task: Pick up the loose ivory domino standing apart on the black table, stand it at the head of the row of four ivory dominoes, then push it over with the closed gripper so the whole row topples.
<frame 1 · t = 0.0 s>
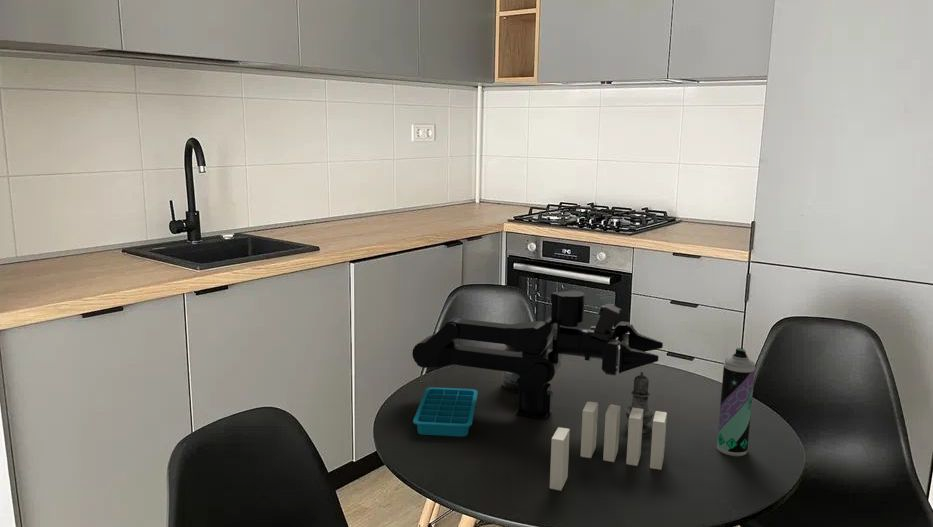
hand: (660, 351, 143), 17 cm above the table, tool horizontal, fingers open, 9 cm apart
ice cube tray: (447, 419, 151), on the table
domino 4: (633, 459, 133), on the table
domino 1: (558, 482, 124), on the table
domino 5: (656, 463, 132), on the table
supplement container: (524, 387, 169), on the table
domino 3: (610, 455, 134), on the table
chess piece: (638, 428, 147), on the table
spray can: (731, 450, 137), on the table
domino 2: (588, 451, 136), on the table
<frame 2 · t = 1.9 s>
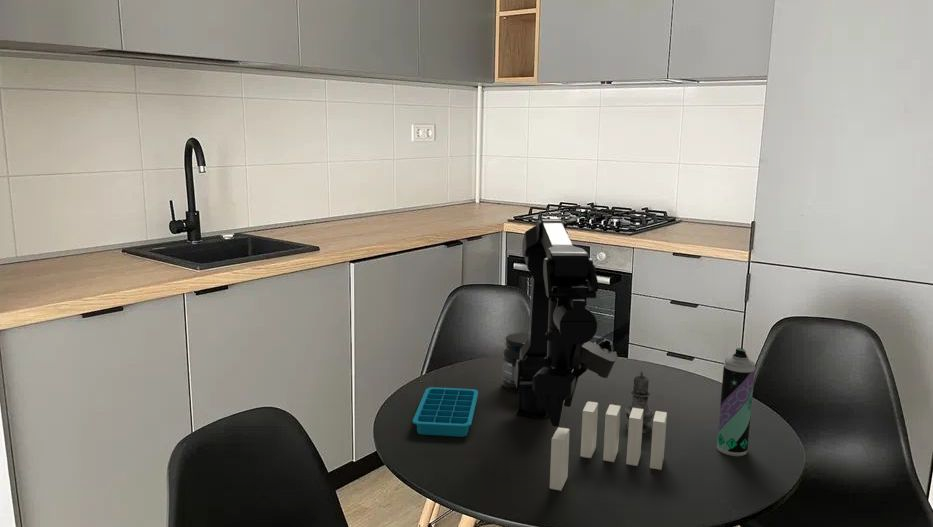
hand: (561, 415, 121), 12 cm above the table, tool pointing down, fingers open, 9 cm apart
nothing on the table moved.
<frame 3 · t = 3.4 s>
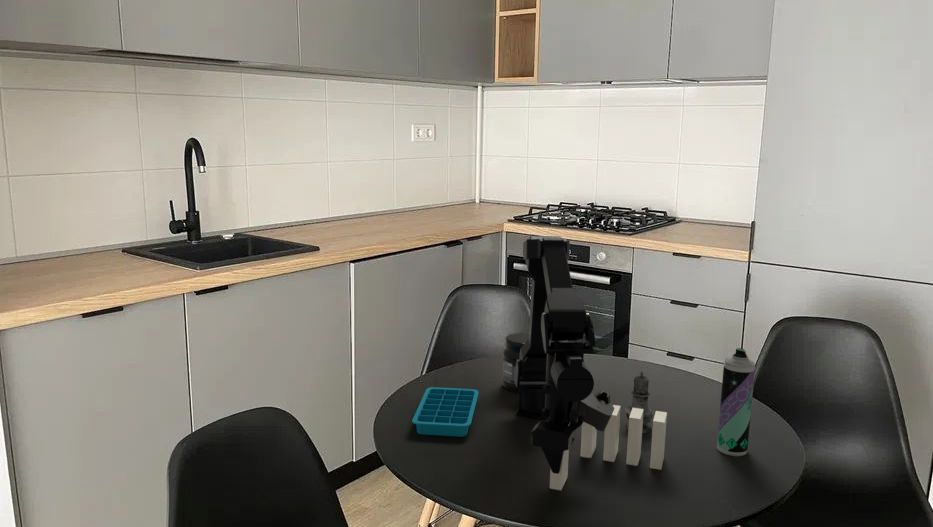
hand: (559, 466, 123), 3 cm above the table, tool pointing down, fingers closed on domino 1, 5 cm apart
domino 1: (558, 482, 124), on the table, touching gripper
everything else where it was.
when the fingers open (4 cm above the table, at t = 7.3 s): domino 1 drops 1 cm, on the table.
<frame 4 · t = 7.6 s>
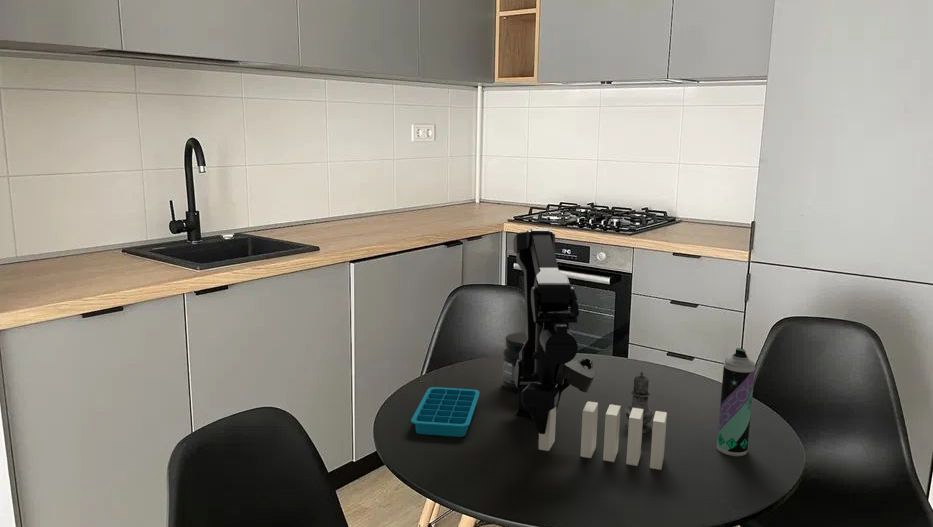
hand: (547, 425, 138), 4 cm above the table, tool pointing down, fingers open, 8 cm apart
domino 1: (546, 444, 138), on the table
everything else where it was.
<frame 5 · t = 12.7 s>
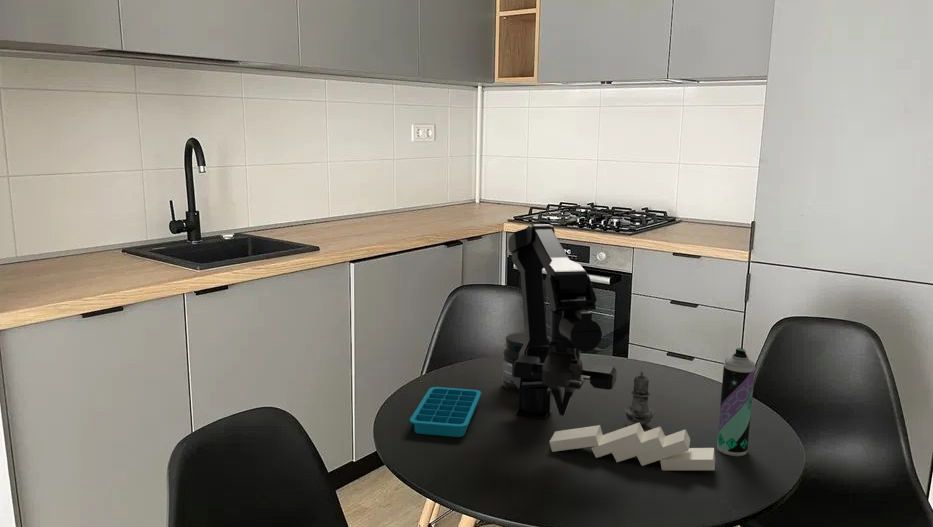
hand: (562, 414, 136), 7 cm above the table, tool pointing down, fingers closed
domino 4: (640, 455, 132), point 1 cm above the table, tilted 61°, touching domino 5
domino 1: (553, 441, 138), point 1 cm above the table, tilted 72°
domino 5: (662, 459, 131), point 1 cm above the table, tilted 79°, touching domino 4
domino 3: (616, 451, 134), point 1 cm above the table, tilted 61°, touching domino 2
domino 2: (596, 447, 135), point 1 cm above the table, tilted 61°, touching domino 3
everything else where it was.
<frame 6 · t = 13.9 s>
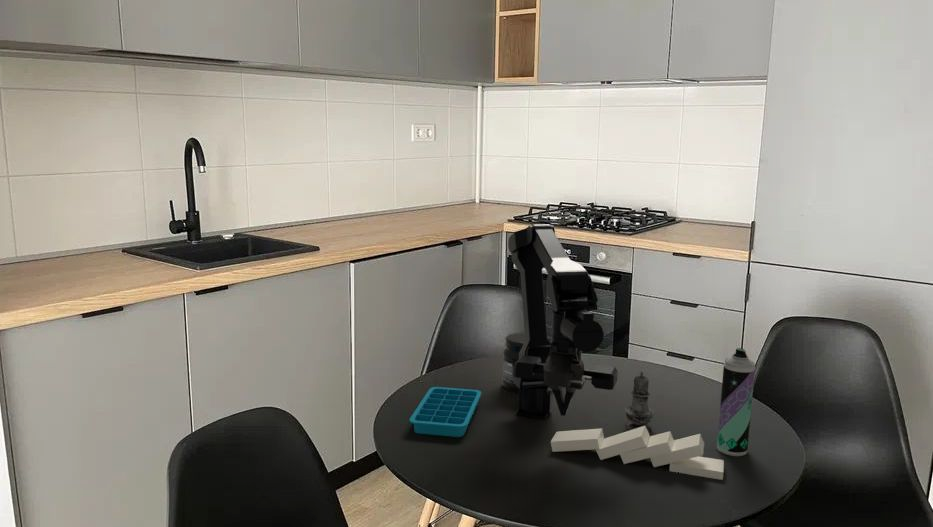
hand: (563, 415, 136), 6 cm above the table, tool pointing down, fingers closed
domino 4: (653, 456, 132), point 1 cm above the table, tilted 65°, touching domino 3
domino 1: (554, 441, 138), point 1 cm above the table, tilted 76°, touching domino 2
domino 5: (670, 462, 131), on the table, tilted 90°
domino 3: (624, 453, 133), point 1 cm above the table, tilted 65°, touching domino 2, domino 4
domino 2: (600, 449, 135), point 1 cm above the table, tilted 62°, touching domino 1, domino 3
everything else where it was.
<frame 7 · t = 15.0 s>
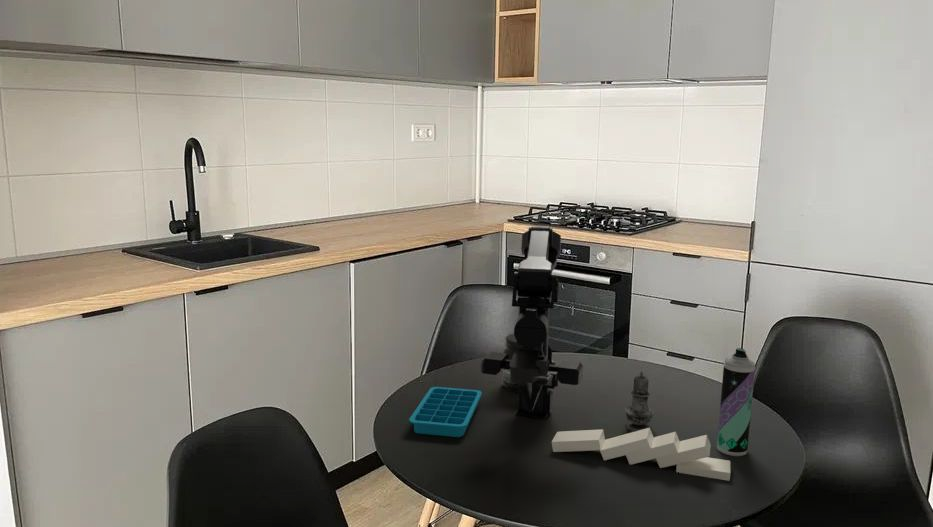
hand: (530, 410, 138), 6 cm above the table, tool pointing down, fingers closed
domino 4: (659, 457, 131), point 1 cm above the table, tilted 65°
domino 5: (677, 463, 130), on the table, tilted 90°
domino 3: (629, 454, 133), point 1 cm above the table, tilted 65°, touching domino 2
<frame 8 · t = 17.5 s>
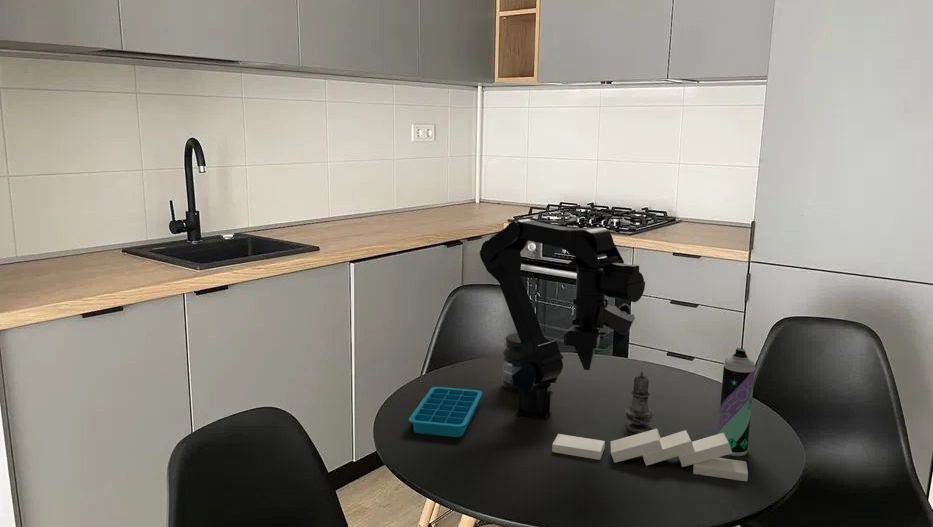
hand: (587, 369, 142), 13 cm above the table, tool pointing down, fingers closed
domino 4: (678, 456, 131), point 1 cm above the table, tilted 68°, touching domino 3
domino 1: (555, 443, 138), on the table, tilted 90°
domino 5: (693, 465, 130), on the table, tilted 90°
domino 3: (642, 455, 132), point 1 cm above the table, tilted 68°, touching domino 2, domino 4
domino 2: (612, 452, 134), point 1 cm above the table, tilted 68°, touching domino 3
everything else where it was.
at the end: domino 5 tilted 90°; domino 1 tilted 90°; domino 1 inside the target area (0.1 cm from its centre), point 0.5 cm above the table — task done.
